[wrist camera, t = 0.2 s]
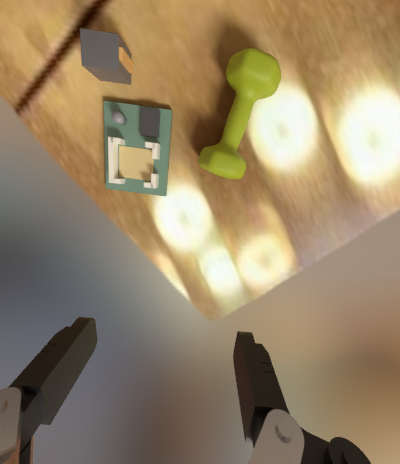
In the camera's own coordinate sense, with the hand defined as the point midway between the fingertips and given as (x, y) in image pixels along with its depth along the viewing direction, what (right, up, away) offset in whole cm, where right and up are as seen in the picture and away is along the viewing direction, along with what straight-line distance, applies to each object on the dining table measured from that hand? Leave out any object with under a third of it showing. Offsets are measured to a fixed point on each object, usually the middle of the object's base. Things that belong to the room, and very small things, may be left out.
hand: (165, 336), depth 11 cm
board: (-9, +20, +24) cm, 32 cm away
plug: (-11, +32, +20) cm, 39 cm away
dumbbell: (+8, +24, +23) cm, 34 cm away
